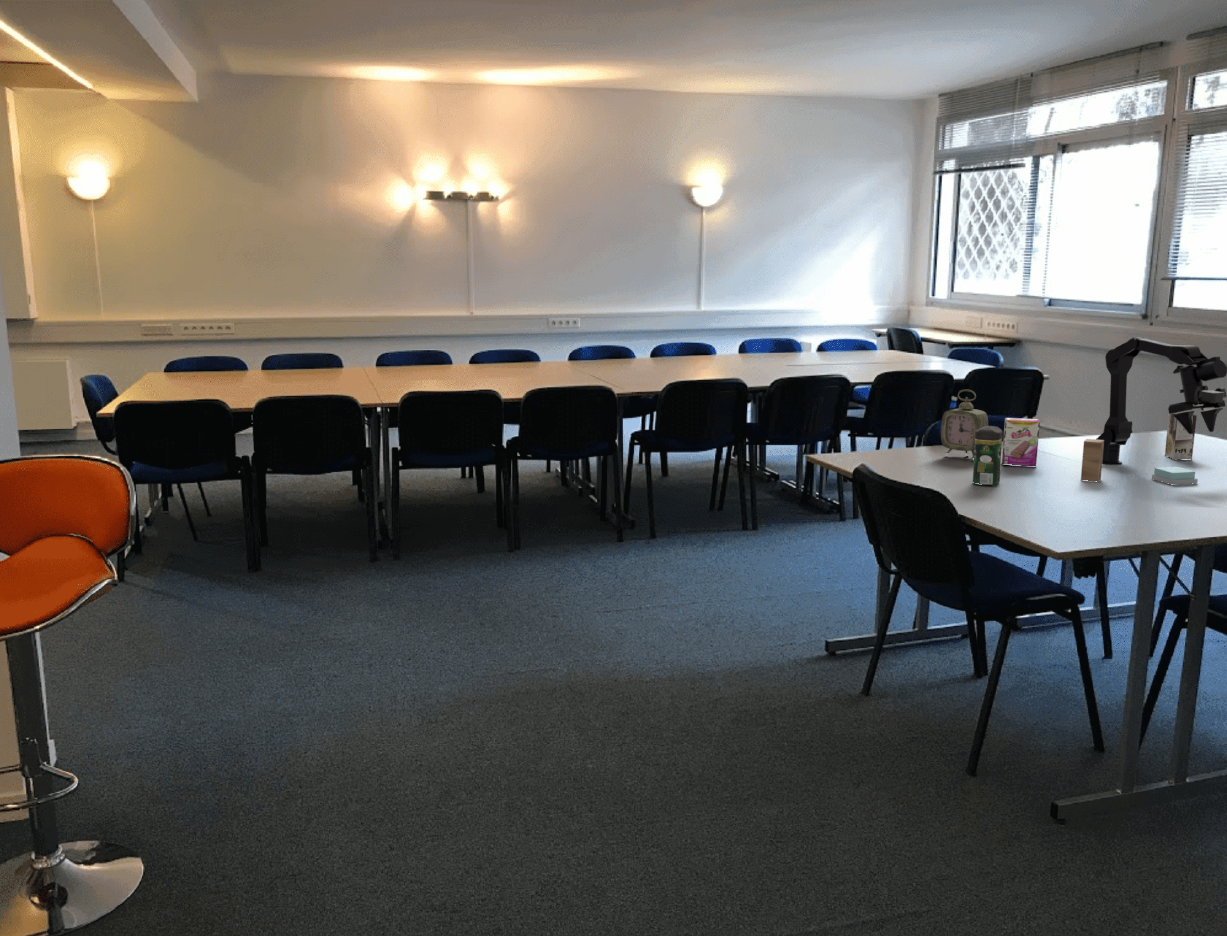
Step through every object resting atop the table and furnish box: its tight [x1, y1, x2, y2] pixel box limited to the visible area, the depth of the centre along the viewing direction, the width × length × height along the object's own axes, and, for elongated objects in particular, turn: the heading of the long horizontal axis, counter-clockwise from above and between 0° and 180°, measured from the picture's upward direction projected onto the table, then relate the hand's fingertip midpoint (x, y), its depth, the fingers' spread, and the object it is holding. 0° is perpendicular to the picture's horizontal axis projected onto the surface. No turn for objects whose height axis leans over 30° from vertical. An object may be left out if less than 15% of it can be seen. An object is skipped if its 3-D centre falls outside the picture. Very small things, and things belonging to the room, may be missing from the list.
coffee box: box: [1164, 413, 1198, 461], centre depth 346 cm, size 9×6×16 cm
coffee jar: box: [972, 425, 1004, 486], centre depth 311 cm, size 10×8×19 cm
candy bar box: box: [1001, 417, 1041, 467], centre depth 337 cm, size 11×5×16 cm, turn 71°
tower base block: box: [1151, 473, 1199, 485], centre depth 311 cm, size 9×9×2 cm
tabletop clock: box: [940, 388, 989, 459], centre depth 352 cm, size 14×9×25 cm, turn 42°
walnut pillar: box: [1080, 438, 1104, 483], centre depth 314 cm, size 5×5×13 cm
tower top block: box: [1153, 466, 1196, 480], centre depth 311 cm, size 8×8×2 cm
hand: (1201, 432), depth 309 cm, fingers open, 9 cm apart
